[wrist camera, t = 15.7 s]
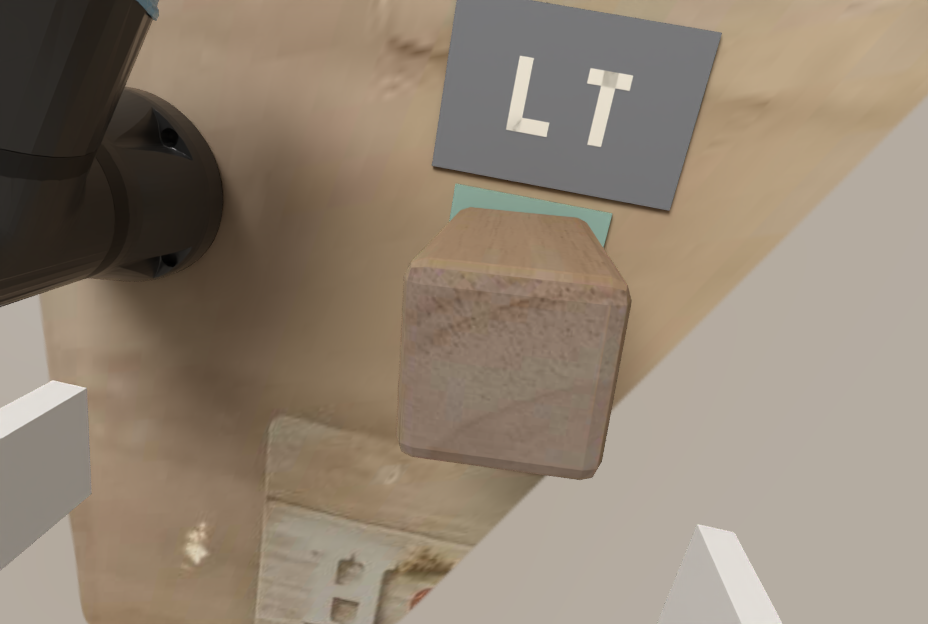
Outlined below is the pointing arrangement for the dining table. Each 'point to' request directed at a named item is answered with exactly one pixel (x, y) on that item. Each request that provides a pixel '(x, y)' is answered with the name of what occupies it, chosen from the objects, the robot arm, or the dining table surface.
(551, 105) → the mat
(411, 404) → the wooden block
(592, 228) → the pad
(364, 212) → the dining table surface
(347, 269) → the dining table surface
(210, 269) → the dining table surface
